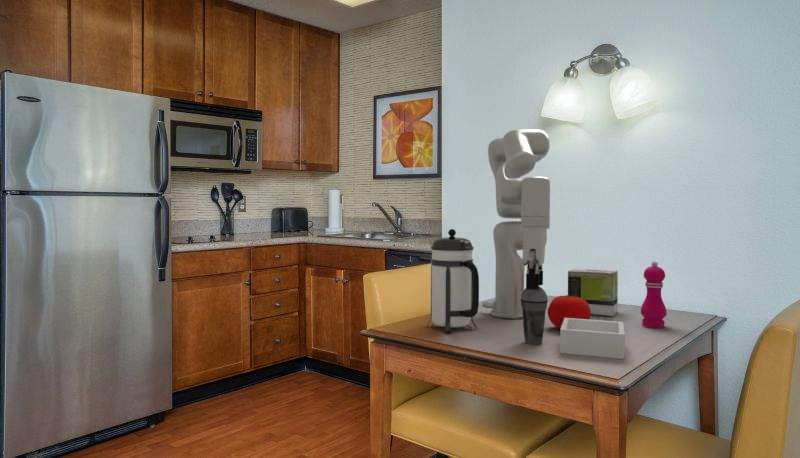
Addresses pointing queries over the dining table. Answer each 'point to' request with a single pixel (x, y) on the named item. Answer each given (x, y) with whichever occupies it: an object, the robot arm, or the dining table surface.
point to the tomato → (567, 309)
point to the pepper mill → (653, 298)
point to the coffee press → (453, 283)
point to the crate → (592, 338)
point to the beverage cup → (533, 314)
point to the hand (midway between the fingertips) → (534, 287)
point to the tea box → (595, 289)
